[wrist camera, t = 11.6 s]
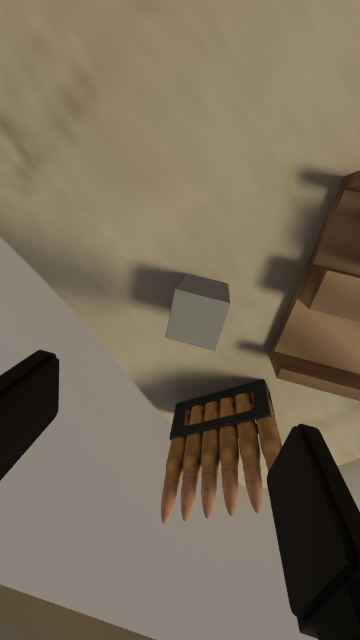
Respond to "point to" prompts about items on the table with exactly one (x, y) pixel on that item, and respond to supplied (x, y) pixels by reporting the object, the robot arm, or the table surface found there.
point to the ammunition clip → (220, 447)
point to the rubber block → (198, 311)
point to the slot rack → (327, 307)
